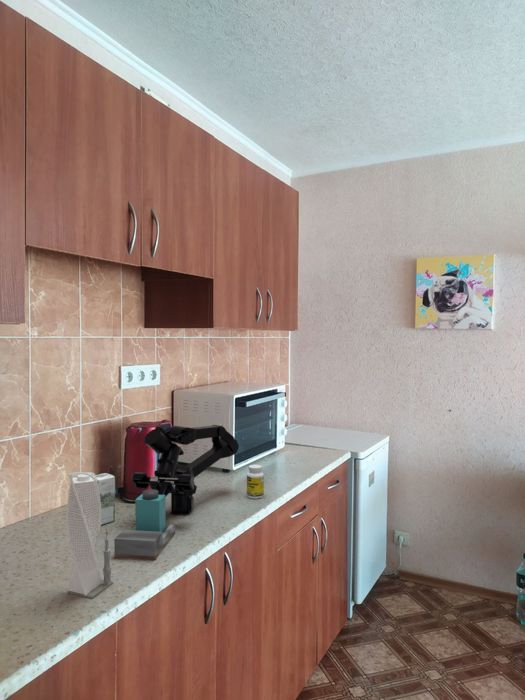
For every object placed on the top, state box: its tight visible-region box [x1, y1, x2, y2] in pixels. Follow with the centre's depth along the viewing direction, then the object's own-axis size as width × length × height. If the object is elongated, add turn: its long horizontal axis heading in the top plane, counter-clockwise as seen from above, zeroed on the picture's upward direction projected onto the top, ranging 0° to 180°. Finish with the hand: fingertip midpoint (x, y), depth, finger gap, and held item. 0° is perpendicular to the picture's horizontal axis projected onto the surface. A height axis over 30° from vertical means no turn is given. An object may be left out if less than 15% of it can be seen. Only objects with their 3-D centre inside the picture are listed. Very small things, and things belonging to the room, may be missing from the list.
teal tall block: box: [134, 488, 167, 533], centre depth 139 cm, size 5×7×13 cm
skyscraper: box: [66, 471, 114, 600], centre depth 112 cm, size 8×8×28 cm
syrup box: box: [95, 472, 116, 526], centre depth 152 cm, size 6×6×14 cm
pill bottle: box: [246, 464, 265, 500], centre depth 176 cm, size 6×6×11 cm
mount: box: [113, 523, 176, 561], centre depth 136 cm, size 17×11×5 cm, turn 172°
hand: (156, 507), depth 145 cm, fingers closed
